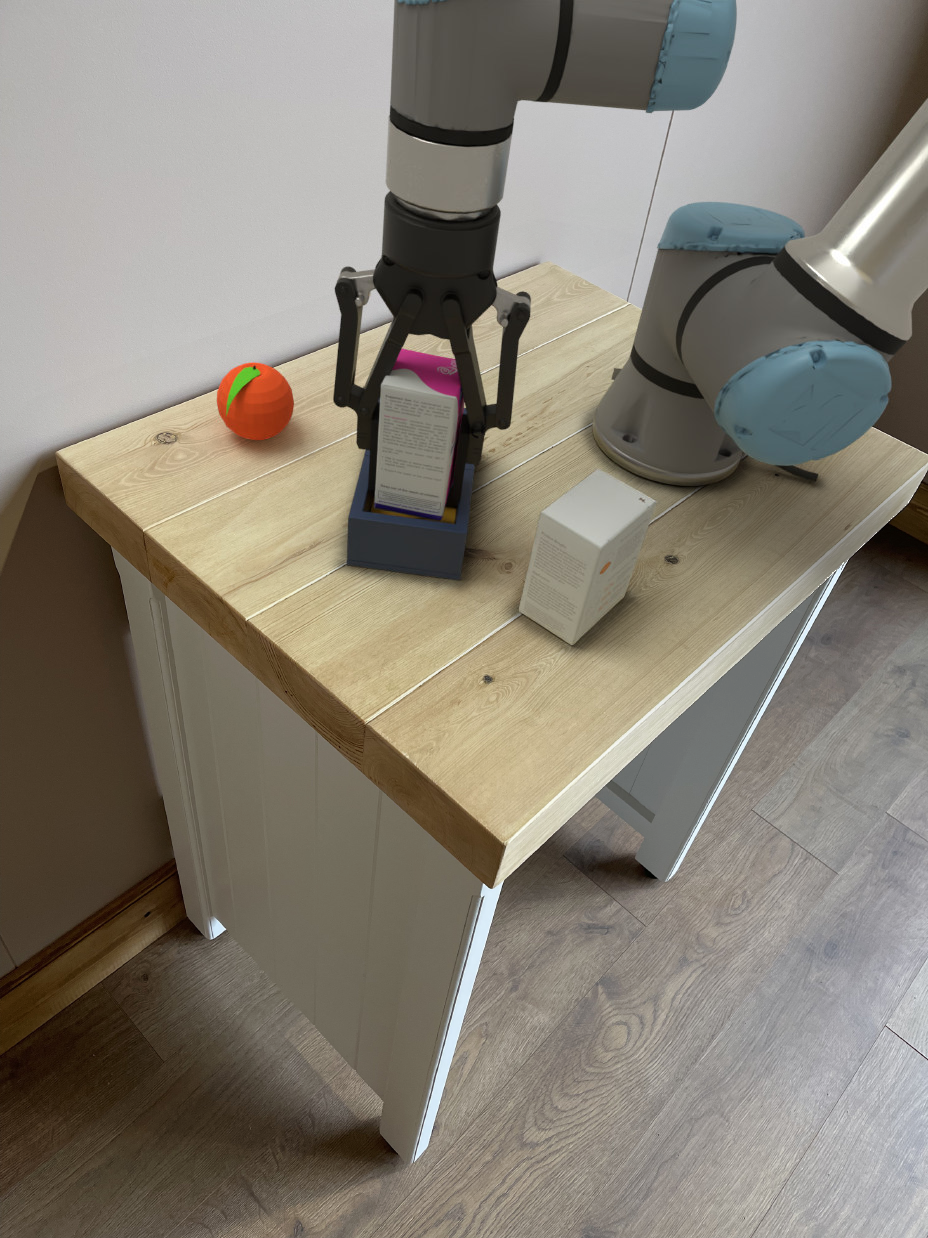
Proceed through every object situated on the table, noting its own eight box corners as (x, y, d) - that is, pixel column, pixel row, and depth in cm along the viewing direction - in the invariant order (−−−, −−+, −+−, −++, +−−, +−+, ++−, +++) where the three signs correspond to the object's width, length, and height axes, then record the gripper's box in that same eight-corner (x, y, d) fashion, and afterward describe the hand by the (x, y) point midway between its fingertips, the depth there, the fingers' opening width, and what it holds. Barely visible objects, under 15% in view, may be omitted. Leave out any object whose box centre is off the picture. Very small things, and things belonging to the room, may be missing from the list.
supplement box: (444, 523, 74) (456, 398, 65) (372, 509, 74) (375, 383, 66) (458, 480, 78) (470, 358, 69) (389, 467, 78) (394, 344, 70)
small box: (571, 565, 79) (598, 465, 71) (625, 598, 77) (659, 499, 69) (515, 611, 74) (538, 509, 66) (571, 648, 72) (602, 547, 64)
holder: (376, 441, 88) (379, 395, 84) (473, 455, 88) (480, 409, 85) (346, 565, 75) (348, 517, 72) (459, 580, 76) (467, 533, 72)
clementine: (262, 470, 83) (259, 401, 78) (197, 445, 84) (190, 376, 79) (308, 427, 88) (308, 361, 83) (246, 404, 90) (242, 338, 85)
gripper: (589, 195, 62) (531, 474, 78) (306, 153, 61) (308, 443, 77) (592, 242, 56) (529, 530, 73) (283, 196, 56) (290, 498, 72)
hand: (415, 485), depth 75 cm, fingers closed on supplement box, 6 cm apart
